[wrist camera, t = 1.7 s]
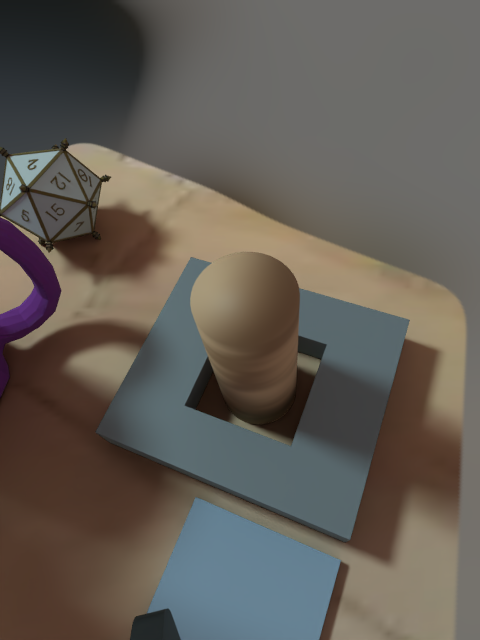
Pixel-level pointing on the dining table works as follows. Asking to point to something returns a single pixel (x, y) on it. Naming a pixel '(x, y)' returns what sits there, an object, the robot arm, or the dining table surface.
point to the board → (254, 449)
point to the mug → (41, 299)
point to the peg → (250, 332)
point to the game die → (50, 194)
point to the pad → (243, 581)
